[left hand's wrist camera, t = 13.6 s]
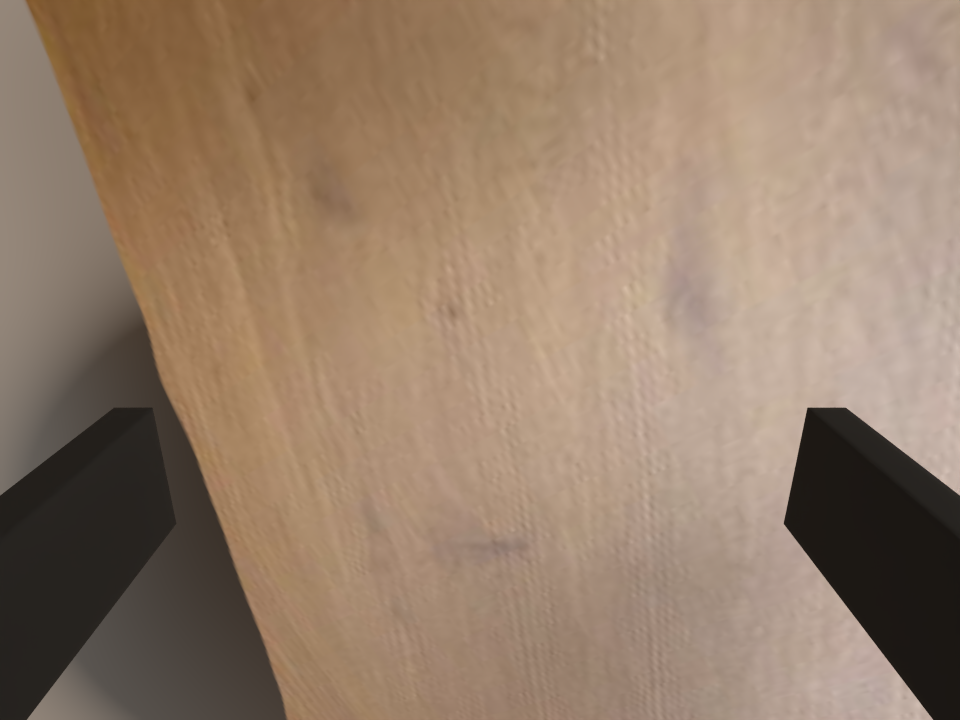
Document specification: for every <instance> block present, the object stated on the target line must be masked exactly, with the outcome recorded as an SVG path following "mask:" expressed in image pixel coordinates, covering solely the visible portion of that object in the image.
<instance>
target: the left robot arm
mask: <svg viewBox="0 0 960 720" xmlns="http://www.w3.org/2000/svg"><path fill="white" fill-rule="evenodd" d="M175 525H176V520H175V515H174V511H173V506H172V501H171V496H170V491H169V486H168V481H167V476H166V472H165V467H164V462H163V457H162V452H161V447H160V442H159V437H158V433H157V428H156V423H155V418H154V413H153V408H113V409H112V410H111V411H109V412H108V413H107V414H106V415H104V416H103V417H102V418H100V419H99V420H98V421H96V422H95V423H94V424H93V425H91V426H90V427H89V428H87V429H86V430H85V431H84V432H82V433H81V434H80V435H78V436H77V437H76V438H74V439H73V440H72V441H71V442H69V443H68V444H67V445H65V446H64V447H63V448H61V449H60V450H59V451H58V452H56V453H55V454H54V455H52V456H51V457H50V458H48V459H47V460H46V461H45V462H43V463H42V464H41V465H39V466H38V467H37V468H36V469H34V470H33V471H32V472H30V473H29V474H28V475H26V476H25V477H24V478H23V479H21V480H20V481H19V482H17V483H16V484H15V485H13V486H12V487H11V488H10V489H8V490H7V491H6V492H4V493H3V494H2V495H1V496H0V720H27V719H28V717H29V716H30V715H31V713H32V712H33V711H34V709H35V708H36V707H37V705H38V704H39V703H40V702H41V700H42V699H43V698H44V696H45V695H46V694H47V692H48V691H49V690H50V688H51V687H52V686H53V684H54V683H55V682H56V681H57V679H58V678H59V677H60V675H61V674H62V673H63V671H64V670H65V669H66V667H67V666H68V665H69V663H70V662H71V661H72V660H73V658H74V657H75V656H76V654H77V653H78V652H79V650H80V649H81V648H82V646H83V645H84V644H85V643H86V641H87V640H88V639H89V637H90V636H91V635H92V633H93V632H94V631H95V629H96V628H97V627H98V626H99V624H100V623H101V622H102V620H103V619H104V618H105V616H106V615H107V614H108V612H109V611H110V610H111V608H112V607H113V606H114V605H115V603H116V602H117V601H118V599H119V598H120V597H121V595H122V594H123V593H124V591H125V590H126V589H127V588H128V586H129V585H130V584H131V582H132V581H133V580H134V578H135V577H136V576H137V574H138V573H139V572H140V570H141V569H142V568H143V567H144V565H145V564H146V563H147V561H148V560H149V559H150V557H151V556H152V555H153V553H154V552H155V551H156V549H157V548H158V547H159V546H160V544H161V543H162V542H163V540H164V539H165V538H166V536H167V535H168V534H169V532H170V531H171V530H172V529H173V527H174V526H175ZM784 525H785V526H786V527H787V529H788V530H789V531H790V532H791V534H792V535H793V536H794V538H795V539H796V540H797V542H798V543H799V544H800V546H801V547H802V548H803V550H804V551H805V552H806V553H807V555H808V556H809V557H810V559H811V560H812V561H813V563H814V564H815V565H816V567H817V568H818V569H819V570H820V572H821V573H822V574H823V576H824V577H825V578H826V580H827V581H828V582H829V584H830V585H831V586H832V588H833V589H834V590H835V591H836V593H837V594H838V595H839V597H840V598H841V599H842V601H843V602H844V603H845V605H846V606H847V607H848V608H849V610H850V611H851V612H852V614H853V615H854V616H855V618H856V619H857V620H858V622H859V623H860V624H861V626H862V627H863V628H864V629H865V631H866V632H867V633H868V635H869V636H870V637H871V639H872V640H873V641H874V643H875V644H876V645H877V647H878V648H879V649H880V650H881V652H882V653H883V654H884V656H885V657H886V658H887V660H888V661H889V662H890V664H891V665H892V666H893V667H894V669H895V670H896V671H897V673H898V674H899V675H900V677H901V678H902V679H903V681H904V682H905V683H906V685H907V686H908V687H909V688H910V690H911V691H912V692H913V694H914V695H915V696H916V698H917V699H918V700H919V702H920V703H921V704H922V705H923V707H924V708H925V709H926V711H927V712H928V713H929V715H930V716H931V717H932V719H933V720H960V495H958V494H957V493H956V492H954V491H953V490H952V489H950V488H949V487H948V486H947V485H945V484H944V483H943V482H941V481H940V480H939V479H937V478H936V477H935V476H934V475H932V474H931V473H930V472H928V471H927V470H926V469H925V468H923V467H922V466H921V465H919V464H918V463H917V462H915V461H914V460H913V459H912V458H910V457H909V456H908V455H906V454H905V453H904V452H902V451H901V450H900V449H899V448H897V447H896V446H895V445H893V444H892V443H891V442H890V441H888V440H887V439H886V438H884V437H883V436H882V435H880V434H879V433H878V432H877V431H875V430H874V429H873V428H871V427H870V426H869V425H867V424H866V423H865V422H864V421H862V420H861V419H860V418H858V417H857V416H856V415H855V414H853V413H852V412H851V411H849V410H848V409H847V408H807V413H806V418H805V423H804V428H803V432H802V437H801V442H800V447H799V452H798V457H797V462H796V467H795V472H794V476H793V481H792V486H791V491H790V496H789V501H788V506H787V511H786V515H785V520H784Z"/></svg>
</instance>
